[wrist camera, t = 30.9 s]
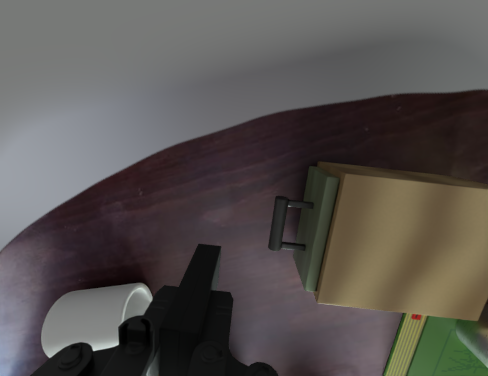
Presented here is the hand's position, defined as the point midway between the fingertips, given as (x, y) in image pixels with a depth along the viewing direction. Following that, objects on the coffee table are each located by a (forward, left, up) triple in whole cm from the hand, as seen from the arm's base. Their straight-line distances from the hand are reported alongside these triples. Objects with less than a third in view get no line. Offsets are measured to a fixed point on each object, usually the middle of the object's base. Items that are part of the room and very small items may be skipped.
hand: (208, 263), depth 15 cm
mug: (+23, -6, -16) cm, 29 cm away
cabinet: (-6, +18, -15) cm, 24 cm away
